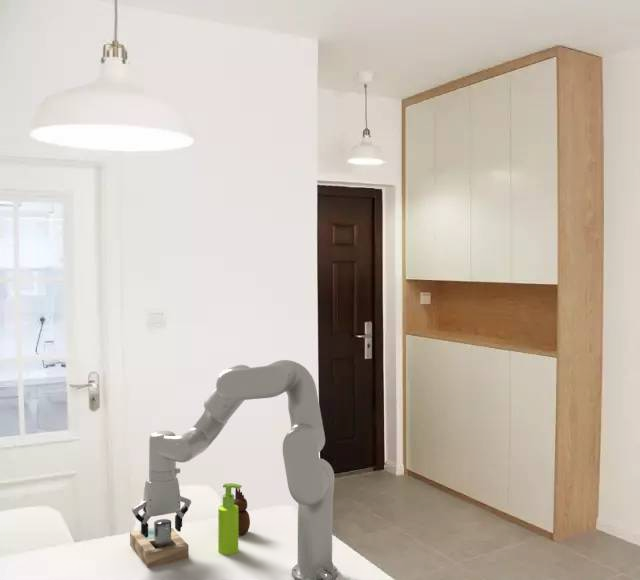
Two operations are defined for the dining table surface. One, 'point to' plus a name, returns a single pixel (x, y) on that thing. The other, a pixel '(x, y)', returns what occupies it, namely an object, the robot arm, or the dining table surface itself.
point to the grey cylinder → (162, 533)
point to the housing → (160, 555)
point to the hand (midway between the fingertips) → (161, 533)
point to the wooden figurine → (242, 513)
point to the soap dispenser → (228, 523)
